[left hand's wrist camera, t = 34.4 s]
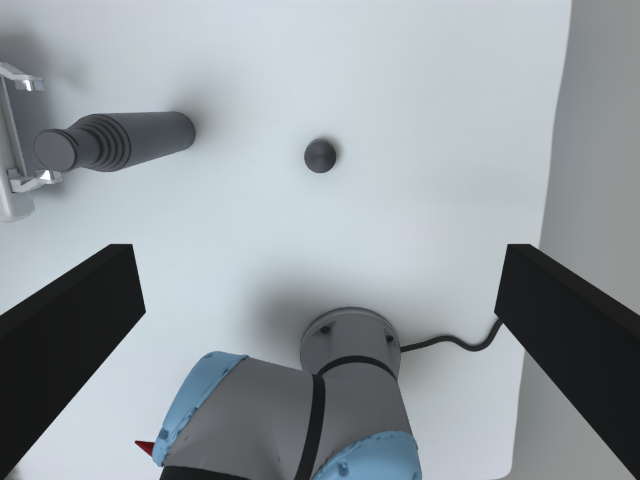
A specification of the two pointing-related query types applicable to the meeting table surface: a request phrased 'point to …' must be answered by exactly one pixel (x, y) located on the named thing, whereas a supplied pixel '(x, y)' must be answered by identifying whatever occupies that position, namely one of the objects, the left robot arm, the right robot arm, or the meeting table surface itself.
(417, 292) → the meeting table surface
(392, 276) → the meeting table surface
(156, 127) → the bottle
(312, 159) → the cap
